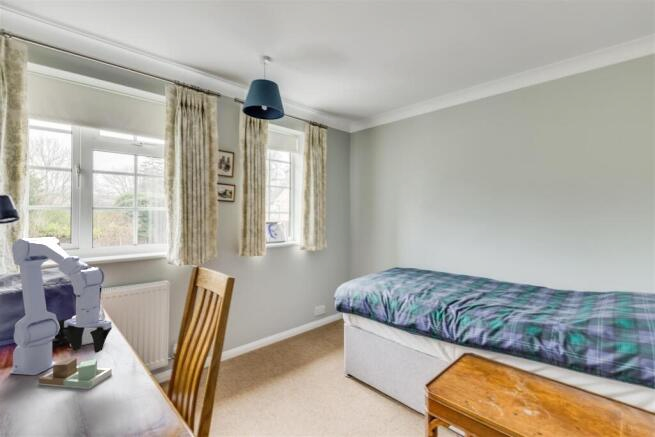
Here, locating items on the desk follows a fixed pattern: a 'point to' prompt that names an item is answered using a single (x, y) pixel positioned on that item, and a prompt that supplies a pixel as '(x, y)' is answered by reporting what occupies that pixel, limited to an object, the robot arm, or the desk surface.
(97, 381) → the slot board
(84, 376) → the sage block
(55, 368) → the walnut block
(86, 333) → the photo printer
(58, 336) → the webcam
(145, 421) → the desk surface
